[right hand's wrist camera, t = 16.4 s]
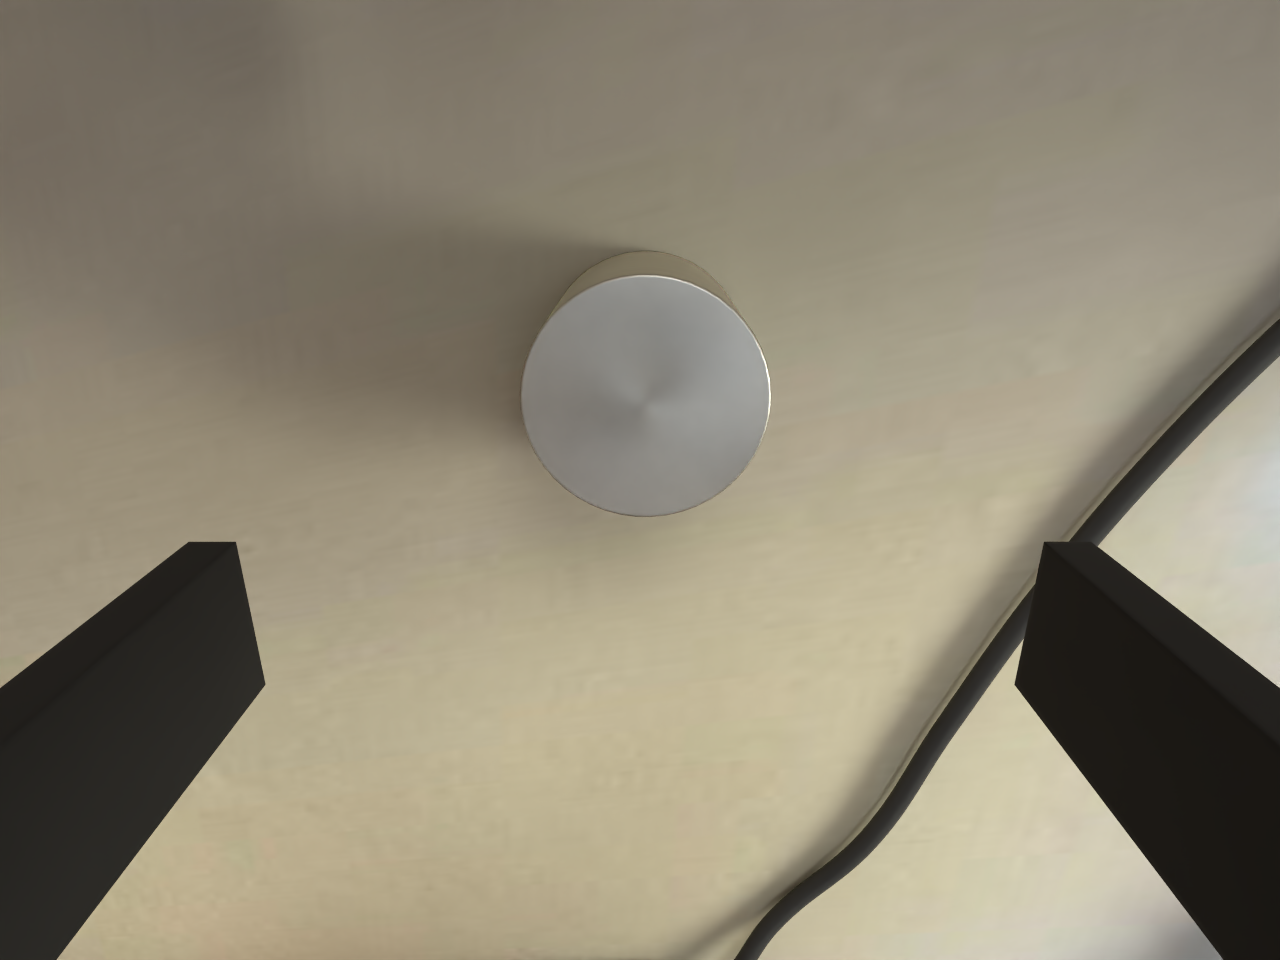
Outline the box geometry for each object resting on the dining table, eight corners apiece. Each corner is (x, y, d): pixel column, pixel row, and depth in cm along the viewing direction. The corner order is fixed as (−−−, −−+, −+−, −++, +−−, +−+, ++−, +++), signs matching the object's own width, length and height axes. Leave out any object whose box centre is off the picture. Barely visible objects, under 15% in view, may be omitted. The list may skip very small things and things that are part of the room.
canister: (538, 256, 28) (505, 281, 22) (742, 245, 28) (772, 266, 22) (557, 449, 31) (533, 523, 25) (743, 440, 31) (770, 512, 24)
